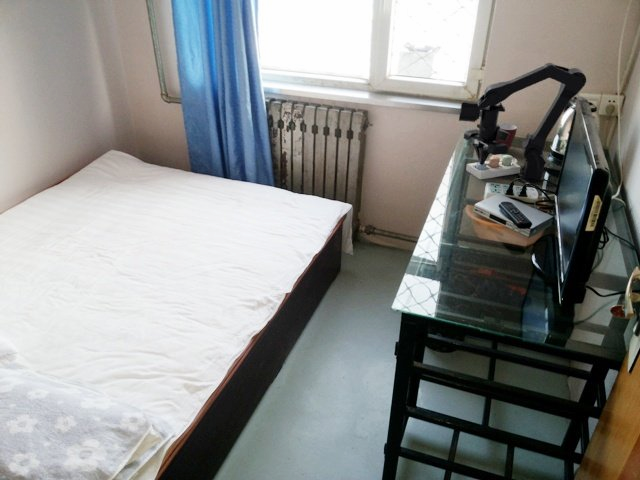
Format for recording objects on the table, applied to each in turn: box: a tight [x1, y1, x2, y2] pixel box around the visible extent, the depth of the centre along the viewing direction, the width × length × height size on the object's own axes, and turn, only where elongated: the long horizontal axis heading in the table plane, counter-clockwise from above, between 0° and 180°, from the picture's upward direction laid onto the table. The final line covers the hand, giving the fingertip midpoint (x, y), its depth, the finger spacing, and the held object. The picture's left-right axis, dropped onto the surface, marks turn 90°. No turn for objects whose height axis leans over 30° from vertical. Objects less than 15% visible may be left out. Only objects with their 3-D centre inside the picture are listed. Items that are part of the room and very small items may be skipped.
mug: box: [494, 123, 518, 150], centre depth 209 cm, size 11×8×10 cm
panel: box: [465, 160, 521, 180], centre depth 192 cm, size 9×17×2 cm, turn 110°
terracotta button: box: [488, 156, 501, 168], centre depth 190 cm, size 4×4×3 cm
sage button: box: [501, 154, 513, 166], centre depth 192 cm, size 4×4×3 cm
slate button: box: [476, 161, 487, 170], centre depth 189 cm, size 4×4×3 cm
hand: (481, 164), depth 189 cm, fingers closed, pressing on slate button
